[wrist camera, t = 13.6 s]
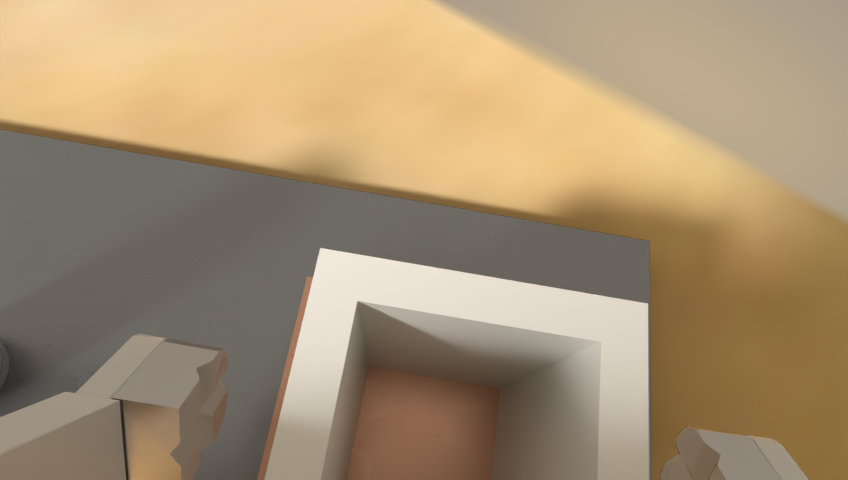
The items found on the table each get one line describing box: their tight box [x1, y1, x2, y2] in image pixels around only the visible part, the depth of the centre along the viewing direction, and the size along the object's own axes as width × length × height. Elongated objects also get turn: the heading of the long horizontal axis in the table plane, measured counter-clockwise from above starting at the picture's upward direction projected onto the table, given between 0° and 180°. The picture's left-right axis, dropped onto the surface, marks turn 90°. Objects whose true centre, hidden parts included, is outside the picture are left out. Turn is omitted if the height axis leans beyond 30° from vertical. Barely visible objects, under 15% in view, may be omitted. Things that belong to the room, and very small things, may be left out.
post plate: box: [0, 129, 651, 480], centre depth 10 cm, size 24×14×10 cm, turn 81°
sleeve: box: [264, 248, 649, 480], centre depth 10 cm, size 5×5×7 cm
